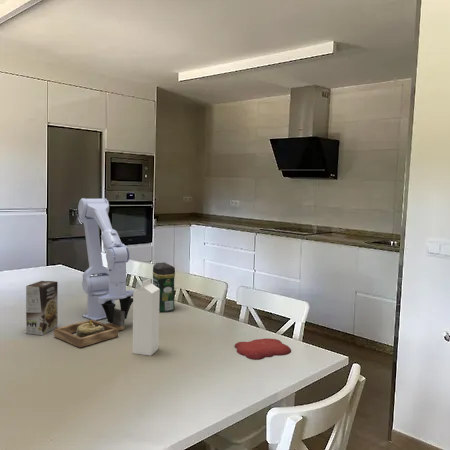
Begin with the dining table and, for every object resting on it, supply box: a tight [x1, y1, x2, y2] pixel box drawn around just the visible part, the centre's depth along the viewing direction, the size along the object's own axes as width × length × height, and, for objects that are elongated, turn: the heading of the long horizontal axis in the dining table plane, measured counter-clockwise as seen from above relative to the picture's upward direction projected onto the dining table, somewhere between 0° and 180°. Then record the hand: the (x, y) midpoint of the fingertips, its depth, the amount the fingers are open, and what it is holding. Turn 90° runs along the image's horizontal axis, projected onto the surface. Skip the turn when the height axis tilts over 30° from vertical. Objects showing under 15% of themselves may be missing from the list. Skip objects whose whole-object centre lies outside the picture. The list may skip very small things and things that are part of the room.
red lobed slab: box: [234, 338, 292, 361], centre depth 146 cm, size 18×14×2 cm
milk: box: [132, 277, 160, 357], centre depth 141 cm, size 6×6×22 cm
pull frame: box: [53, 307, 126, 348], centre depth 154 cm, size 20×14×6 cm
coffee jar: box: [152, 262, 176, 313], centre depth 186 cm, size 10×8×19 cm
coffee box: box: [25, 280, 59, 336], centre depth 156 cm, size 9×6×16 cm
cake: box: [75, 321, 105, 338], centre depth 153 cm, size 10×10×5 cm
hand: (117, 320), depth 161 cm, fingers open, 5 cm apart
